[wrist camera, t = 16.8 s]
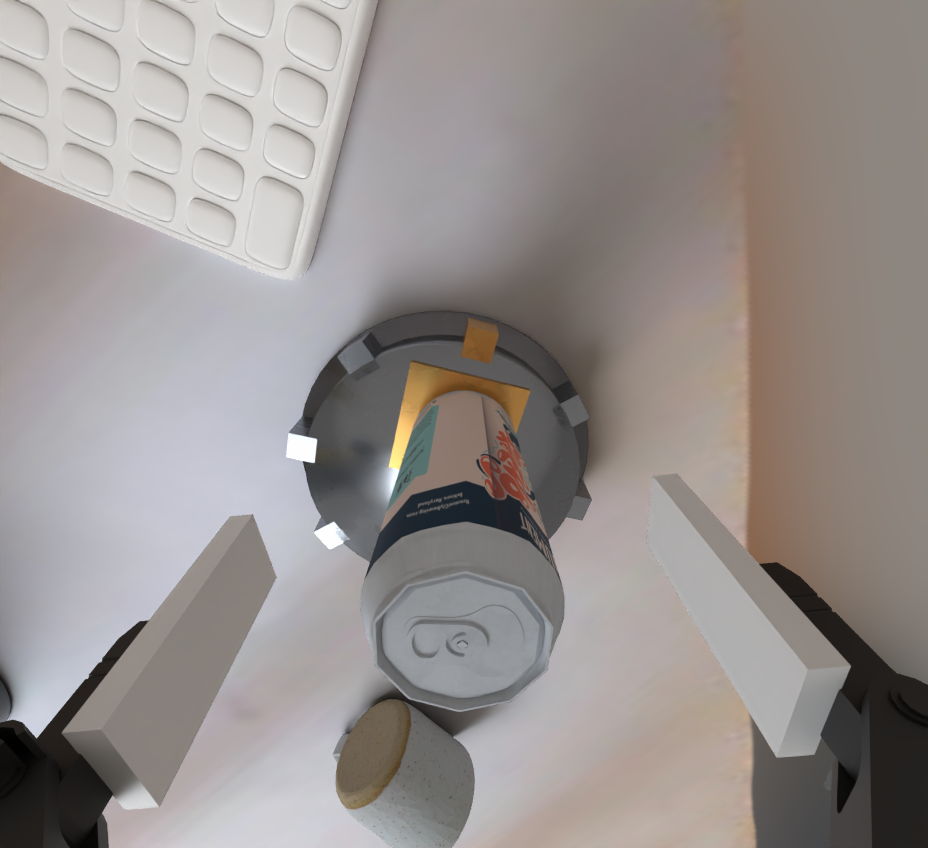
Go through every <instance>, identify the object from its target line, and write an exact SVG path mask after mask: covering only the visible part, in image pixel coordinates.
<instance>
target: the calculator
mask: <svg viewBox="0 0 928 848" xmlns="http://www.w3.org/2000/svg"><path fill="white" fill-rule="evenodd" d="M157 2H158V3H157ZM377 4H378V0H17V1H16V0H0V162H1V163H3V164H5V165H6V166H8V167H10V168H11V169H13V170H15V171H16V172H19V173H21V174H23V175H25V176H27V177H29V178H31V179H34V180H36V181H39V182H41V183H43V184H46V185H48V186H51V187H53V188H55V189H58V190H60V191H63V192H65V193H68V194H70V195H72V196H75V197H77V198H80V199H82V200H85V201H87V202H89V203H92V204H94V205H97V206H99V207H102V208H104V209H106V210H109V211H111V212H114V213H116V214H119V215H121V216H124V217H126V218H128V219H131V220H133V221H136V222H138V223H141V224H143V225H145V226H148V227H150V228H153V229H155V230H158V231H160V232H162V233H165V234H167V235H170V236H172V237H175V238H177V239H179V240H182V241H184V242H187V243H189V244H192V245H194V246H197V247H199V248H201V249H204V250H206V251H209V252H211V253H214V254H216V255H218V256H221V257H223V258H226V259H228V260H231V261H233V262H235V263H238V264H240V265H243V266H245V267H248V268H250V269H253V270H255V271H258V272H260V273H263V274H266V275H268V276H271V277H274V278H279V279H283V280H295V279H298V278H300V277H301V276H302V275H304V274H305V273H306V271H307V269H308V267H309V265H310V263H311V260H312V257H313V254H314V250H315V247H316V243H317V239H318V235H319V232H320V228H321V224H322V220H323V216H324V212H325V208H326V204H327V200H328V196H329V192H330V188H331V185H332V181H333V177H334V173H335V169H336V165H337V161H338V157H339V153H340V149H341V145H342V141H343V137H344V133H345V130H346V126H347V122H348V118H349V114H350V110H351V106H352V102H353V98H354V94H355V90H356V86H357V82H358V78H359V75H360V71H361V67H362V63H363V59H364V55H365V51H366V47H367V43H368V39H369V35H370V31H371V27H372V23H373V20H374V16H375V12H376V8H377ZM166 6H167V7H166ZM168 7H169V8H168ZM170 8H171V9H170ZM172 9H173V10H172ZM174 10H175V11H174ZM176 11H177V12H176ZM75 13H76V14H75ZM181 14H182V15H181ZM78 15H79V16H78ZM183 15H184V16H183ZM220 15H221V16H220ZM81 17H82V18H81ZM186 17H187V18H186ZM332 22H333V23H332ZM339 29H340V30H339ZM77 30H78V31H77ZM83 32H84V33H83ZM88 34H89V35H88ZM230 38H231V39H230ZM232 39H233V40H232ZM248 47H249V48H248ZM148 48H149V49H148ZM250 48H251V49H250ZM287 48H288V49H287ZM152 51H153V52H152ZM23 53H24V54H23ZM291 53H292V54H291ZM5 58H6V59H5ZM150 64H151V65H150ZM153 65H154V66H153ZM158 67H159V68H158ZM160 68H161V69H160ZM294 70H295V71H294ZM301 73H302V74H301ZM303 74H304V75H303ZM305 75H306V76H305ZM307 76H308V77H307ZM309 77H310V78H309ZM79 78H80V79H79ZM311 78H312V79H311ZM81 79H82V80H81ZM83 80H84V81H83ZM85 81H86V82H85ZM316 81H317V82H316ZM87 82H88V83H87ZM218 82H219V83H218ZM318 82H319V83H318ZM89 83H90V84H89ZM91 84H92V85H91ZM322 85H323V86H322ZM98 87H99V88H98ZM76 90H77V91H76ZM215 95H216V96H215ZM218 96H219V97H218ZM221 97H222V98H221ZM228 100H229V101H228ZM230 101H231V102H230ZM278 109H279V110H280V111H281V112H280V111H279V110H278ZM22 110H23V111H22ZM149 110H150V111H149ZM151 111H152V112H151ZM153 112H154V113H153ZM29 113H30V114H29ZM155 113H156V114H155ZM32 114H33V115H32ZM164 117H165V118H164ZM166 118H167V119H166ZM142 120H143V121H142ZM146 121H147V122H146ZM278 125H279V126H278ZM282 126H283V127H282ZM287 128H288V129H287ZM300 134H301V135H300ZM213 139H214V140H213ZM215 140H216V141H215ZM217 141H218V142H217ZM96 142H97V143H96ZM219 142H220V143H219ZM221 143H222V144H221ZM230 147H231V148H230ZM207 149H208V150H207ZM235 149H236V150H235ZM270 164H271V165H270ZM151 166H152V167H151ZM273 166H274V167H273ZM37 168H38V169H37ZM158 169H159V170H158ZM163 171H164V172H163ZM166 172H167V173H166ZM285 172H286V173H285ZM287 173H288V174H287ZM297 177H298V178H297ZM211 192H212V193H211ZM103 195H104V196H103ZM218 195H219V196H218ZM223 197H224V198H223ZM166 221H167V222H166ZM223 245H224V246H223ZM278 268H279V269H278Z"/></svg>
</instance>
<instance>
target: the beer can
mask: <svg viewBox="0 0 928 848" xmlns="http://www.w3.org/2000/svg"><path fill="white" fill-rule="evenodd" d="M360 611H361V616H362V621H363V626H364V630H365V632H366V635H367V638H368V641H369V644H370V646H371V649H372V652H373V655H374V661H375V667H376V668H377V669H378V670H379V671H380V672H381V673H383V674H384V675H385V676H386V677H387V678H388V679H389V680H390V681H391V682H392V683H393V684H394V685H395V686H396V687H397V688H398V689H399V690H400V691H401V692H402V693H403V694H404V695H405V696H406V697H407V698H408V699H410V700H414V701H418V702H422V703H426V704H429V705H433V706H437V707H441V708H445V709H449V710H453V711H457V712H463V711H468V710H473V709H478V708H483V707H488V706H493V705H498V704H503V703H508V702H512V701H513V700H514V699H515V698H516V697H517V696H519V695H520V694H521V693H522V692H523V691H524V690H526V689H527V688H528V687H529V686H530V685H531V684H532V683H534V682H535V681H536V680H537V679H538V678H539V677H541V676H542V675H543V674H544V673H545V672H546V671H548V664H549V658H550V655H551V652H552V650H553V647H554V644H555V642H556V639H557V637H558V635H559V633H560V630H561V626H562V623H563V619H564V592H563V587H562V583H561V580H560V577H559V574H558V570H557V567H556V564H555V561H554V557H553V554H552V551H551V548H550V544H549V541H548V538H547V534H546V531H545V528H544V525H543V521H542V518H541V515H540V512H539V508H538V505H537V502H536V499H535V495H534V492H533V489H532V485H531V482H530V479H529V476H528V472H527V469H526V466H525V463H524V459H523V456H522V453H521V450H520V446H519V443H518V440H517V436H516V433H515V430H514V427H513V424H512V422H511V419H510V417H509V415H508V414H507V413H506V411H505V410H504V409H503V407H502V406H501V405H500V404H499V403H497V402H496V401H495V400H493V399H492V398H490V397H488V396H486V395H484V394H481V393H477V392H474V391H453V392H449V393H445V394H443V395H441V396H439V397H437V398H435V399H433V400H432V401H431V402H429V403H428V404H427V405H426V406H425V407H424V408H423V410H422V411H421V412H420V413H419V415H418V417H417V419H416V421H415V423H414V425H413V429H412V432H411V435H410V438H409V441H408V444H407V448H406V451H405V454H404V457H403V460H402V463H401V466H400V470H399V473H398V476H397V479H396V482H395V485H394V489H393V492H392V495H391V498H390V501H389V504H388V507H387V511H386V514H385V517H384V520H383V523H382V526H381V530H380V533H379V536H378V539H377V542H376V545H375V549H374V552H373V555H372V558H371V561H370V564H369V567H368V571H367V574H366V577H365V580H364V584H363V587H362V594H361V607H360Z"/></svg>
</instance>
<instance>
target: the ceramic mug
mask: <svg viewBox="0 0 928 848" xmlns="http://www.w3.org/2000/svg"><path fill="white" fill-rule="evenodd" d="M333 757H334V759H335V760H336V761H337V762H338V764H337V771H336V791H337V794H338V796H339V798H340V801H341V802H342V804H343V805H344V807H345V808H346V809H347V811H348V812H349V813H350V814H351V815H352V816H353V817H354V818H355V819H356V820H357V821H358V822H359V823H361V824H362V825H363V826H365V827H366V828H368V829H370V830H371V831H372V832H374V833H375V834H376V835H377V836H379V837H380V838H381V839H382V840H383V841H385V842H386V843H387V844H388V845H390V846H391V847H392V848H452V846H453V845H454V844H455V842H456V841H457V839H458V838H459V836H460V834H461V832H462V830H463V828H464V826H465V824H466V821H467V819H468V816H469V813H470V810H471V806H472V802H473V795H474V783H475V778H474V769H473V764H472V760H471V758H470V755H469V753H468V752H467V750H466V748H465V747H464V746H463V745H462V744H461V743H460V742H459V741H457V740H456V739H454V738H453V737H452V736H451V735H449V734H448V733H447V732H446V731H444V730H443V729H442V728H440V727H439V726H438V725H437V724H435V723H434V722H433V721H431V720H430V719H429V718H427V717H426V716H425V715H424V714H423V713H421V712H420V711H419V710H418V709H416V708H415V707H413V706H412V705H410V704H408V703H406V702H404V701H401V700H399V699H387V700H384V701H382V702H380V703H378V704H376V705H374V706H373V707H372V708H370V709H369V710H368V711H367V712H366V713H365V714H364V715H363V716H362V717H361V718H360V719H359V720H358V722H357V723H356V724H355V726H354V727H353V729H352V730H351V732H350V734H343V735H342V736H341V738H340V740H339V742H338V744H337V746H336V748H335V750H334V753H333Z"/></svg>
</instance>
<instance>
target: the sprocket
mask: <svg viewBox="0 0 928 848" xmlns="http://www.w3.org/2000/svg"><path fill="white" fill-rule="evenodd" d="M498 336H499V332H498V329H497V326H496V324H492V323H488V322H484V321H480V320H477V319H473V318H469V317H468V319H467V323H466V327H465V331H464V335H463V336H459V335H442V334H439V335H426V336H418V337H414V338H409V339H404V340H401V341H398V342H395V343H393V344H390V345H387V346H385V347H383V348H382V346H381V345H380V344H379V342H378V341H377V339H376V338H375V336H374V335H373V333H372V332H369V333H368V334H366V335H364V336H363V337H361V338H360V339H358V340H356V341H355V342H353V343H352V344H350V345H348V346H347V347H346V348H345V349H344V350H343V351H342V352H341V353H340V355H339V356H338V357H337V358H338V359H339V360H340V362H341V363H342V364H343V366H344V367H345V369H346V370H347V371H348V372H347V373H346V374H345V375H344V376H343V378H342V379H341V380H340V381H339V383H338V384H337V385H336V386H335V388H334V389H333V390H332V391H331V393H330V394H329V395H328V397H327V398H326V399H325V401H324V402H323V403H322V405H321V407H320V409H319V410H318V412H317V414H316V416H315V418H314V419H312V418H308V417H303V416H302V418H301V419H300V420H299V421H298V422H297V423H296V425H295V426H294V427H293V428H292V429H291V431H290V432H289V433H288V444H287V455H286V457H288V458H292V459H297V460H302V461H305V468H306V476H307V482H308V486H309V490H310V493H311V496H312V499H313V501H314V503H315V505H316V508H317V510H318V511H319V513H320V515H321V518H320V520H319V522H318V524H317V526H316V528H315V531H314V533H315V534H316V535H317V536H318V537H319V539H320V540H321V541H322V542H323V543H324V544H325V545H326V546H327V547H328V548H329V549H331V548H333V547H335V546H337V545H339V544H341V543H344V544H345V545H346V546H347V547H349V548H350V549H351V550H353V551H354V552H355V553H356V554H358V555H359V556H361V557H363V558H364V559H366V560H368V561H369V562H370V561H371V558H372V555H373V552H374V549H375V545H376V542H377V539H378V536H379V533H380V530H381V526H382V523H383V520H384V517H385V514H386V511H387V507H388V504H389V501H390V498H391V495H392V492H393V489H394V485H395V482H396V479H397V476H398V473H399V470H400V466H401V463H402V460H403V457H404V454H405V451H406V448H407V444H408V441H409V438H410V435H411V432H412V429H413V425H414V423H415V421H416V419H417V417H418V415H419V413H420V412H421V411H422V410H423V408H424V407H425V406H426V405H427V404H428V403H429V402H431V401H432V400H433V399H435V398H437V397H439V396H441V395H443V394H445V393H449V392H453V391H474V392H477V393H481V394H484V395H486V396H488V397H490V398H492V399H493V400H495V401H496V402H497V403H499V404H500V405H501V406H502V407H503V409H504V410H505V411H506V413H507V414H508V415H509V417H510V419H511V422H512V424H513V427H514V430H515V433H516V436H517V440H518V443H519V446H520V450H521V453H522V456H523V459H524V463H525V466H526V469H527V472H528V476H529V479H530V482H531V485H532V489H533V492H534V495H535V499H536V502H537V505H538V508H539V512H540V515H541V518H542V521H543V525H544V528H545V531H546V534H547V538H548V540H549V539H550V538H551V537H552V536H553V534H554V533H555V532H556V531H557V529H558V528H559V527H560V525H561V524H562V522H563V521H564V519H565V518H566V517H568V518H573V519H578V520H583V518H584V516H585V514H586V511H587V509H588V507H589V505H590V503H591V500H592V499H591V497H590V494H589V492H588V490H587V488H586V486H585V484H584V482H583V479H580V478H579V470H580V459H579V450H578V444H577V441H576V437H575V433H574V430H573V428H572V427H574V426H575V425H577V424H579V423H581V422H583V421H585V420H587V419H589V418H590V417H589V415H588V413H587V411H586V409H585V407H584V405H583V403H582V401H581V399H580V397H579V395H578V394H577V392H576V391H575V389H574V388H573V386H572V385H571V383H570V382H569V381H567V382H565V383H563V384H561V385H559V386H557V387H556V388H554V389H551V387H550V386H549V385H548V383H547V382H546V381H545V380H544V379H543V378H542V376H541V375H540V374H539V373H538V372H537V371H536V370H534V369H533V368H532V367H531V366H530V365H529V364H528V363H526V362H525V361H523V360H522V359H520V358H519V357H517V356H516V355H514V354H513V353H511V352H509V351H507V350H505V349H503V348H501V347H499V346H497V345H496V343H497V339H498Z"/></svg>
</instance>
